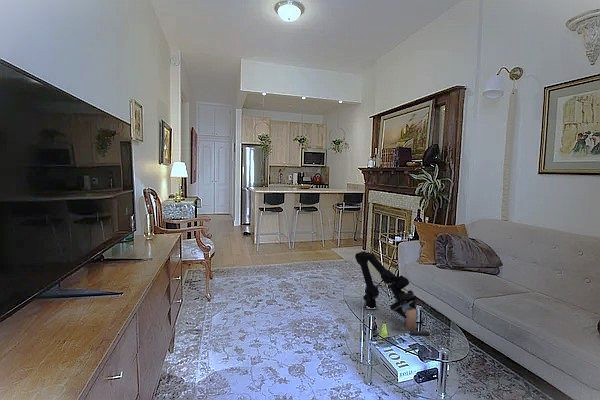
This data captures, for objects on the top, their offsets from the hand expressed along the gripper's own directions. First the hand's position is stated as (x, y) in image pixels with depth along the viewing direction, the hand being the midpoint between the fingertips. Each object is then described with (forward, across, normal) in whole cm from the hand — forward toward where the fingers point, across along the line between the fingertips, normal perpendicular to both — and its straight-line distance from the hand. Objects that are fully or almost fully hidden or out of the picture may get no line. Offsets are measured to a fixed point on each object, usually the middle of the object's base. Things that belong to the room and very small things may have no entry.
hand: (411, 316), depth 197 cm
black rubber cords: (+7, +2, +5) cm, 9 cm away
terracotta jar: (+6, 0, +6) cm, 8 cm away
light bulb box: (-6, +14, +19) cm, 24 cm away
